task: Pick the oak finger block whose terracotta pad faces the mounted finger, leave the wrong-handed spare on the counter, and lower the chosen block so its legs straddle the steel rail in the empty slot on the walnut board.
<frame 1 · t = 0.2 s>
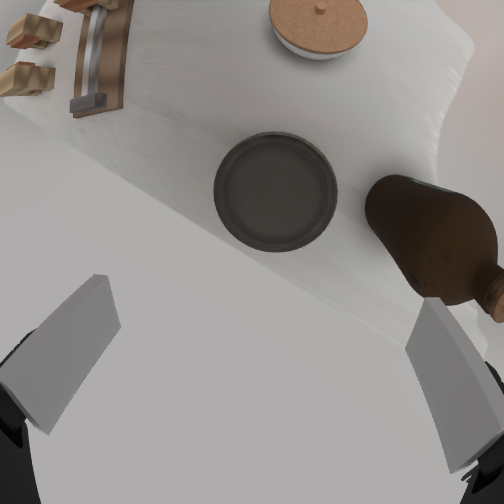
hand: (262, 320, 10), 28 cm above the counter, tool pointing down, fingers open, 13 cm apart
mounted finger: (110, 6, 25), resting on rail board
rail board: (105, 39, 28), on the counter
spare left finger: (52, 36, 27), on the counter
olive oil: (394, 206, 35), on the counter
coffee can: (277, 173, 35), on the counter
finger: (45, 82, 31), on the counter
lidded jar: (312, 35, 27), on the counter
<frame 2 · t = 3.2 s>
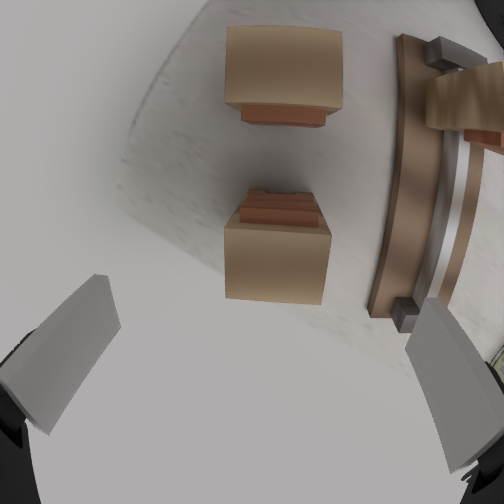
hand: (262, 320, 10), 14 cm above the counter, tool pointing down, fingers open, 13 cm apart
mounted finger: (441, 111, 17), resting on rail board
rail board: (435, 186, 20), on the counter
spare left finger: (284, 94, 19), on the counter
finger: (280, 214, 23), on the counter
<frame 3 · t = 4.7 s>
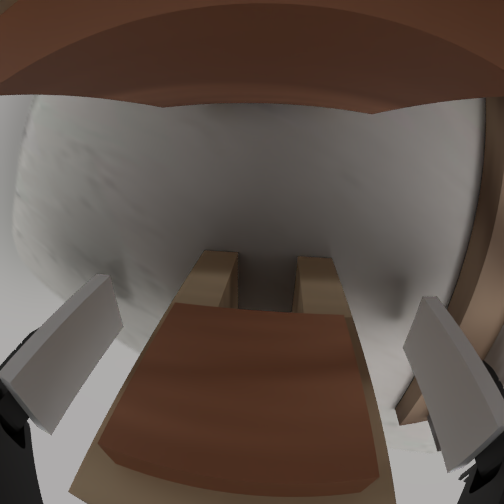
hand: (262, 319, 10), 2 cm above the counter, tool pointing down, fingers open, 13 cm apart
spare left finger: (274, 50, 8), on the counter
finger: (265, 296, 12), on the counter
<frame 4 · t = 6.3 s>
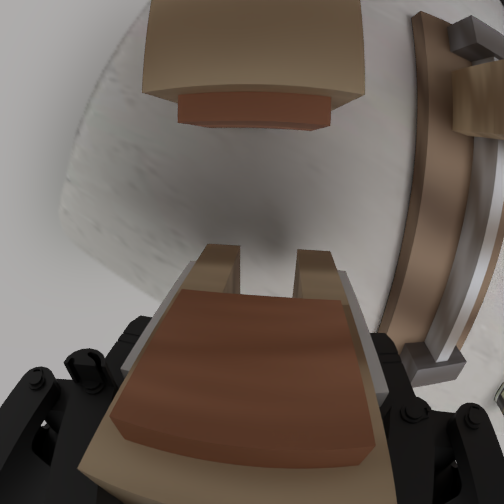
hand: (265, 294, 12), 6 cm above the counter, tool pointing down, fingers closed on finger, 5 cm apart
mounted finger: (468, 112, 12), resting on rail board
rail board: (459, 207, 15), on the counter
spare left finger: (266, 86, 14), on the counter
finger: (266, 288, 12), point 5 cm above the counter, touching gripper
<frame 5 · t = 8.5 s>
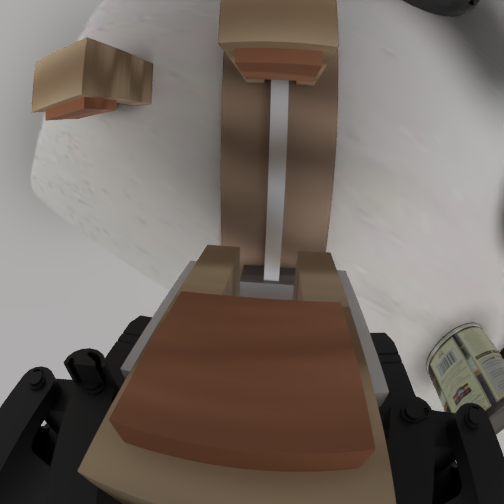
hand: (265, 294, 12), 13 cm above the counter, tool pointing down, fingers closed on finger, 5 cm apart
mounted finger: (280, 65, 19), resting on rail board
rail board: (278, 143, 22), on the counter
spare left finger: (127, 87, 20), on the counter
coffee can: (455, 350, 29), on the counter
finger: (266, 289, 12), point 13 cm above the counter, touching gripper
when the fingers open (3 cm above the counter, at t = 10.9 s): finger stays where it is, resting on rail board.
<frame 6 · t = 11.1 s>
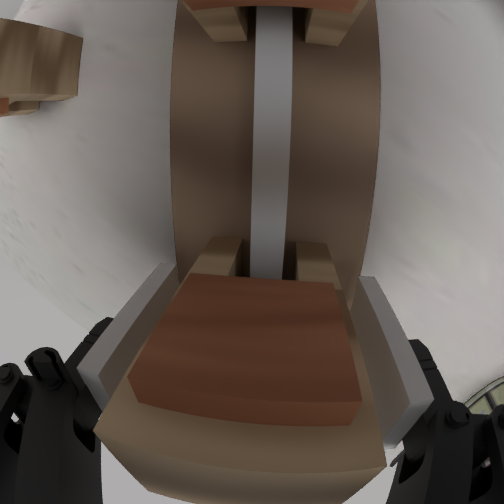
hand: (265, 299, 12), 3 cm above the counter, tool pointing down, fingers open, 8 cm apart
mounted finger: (277, 17, 9), resting on rail board
rail board: (274, 149, 12), on the counter
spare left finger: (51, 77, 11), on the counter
coffee can: (483, 403, 19), on the counter
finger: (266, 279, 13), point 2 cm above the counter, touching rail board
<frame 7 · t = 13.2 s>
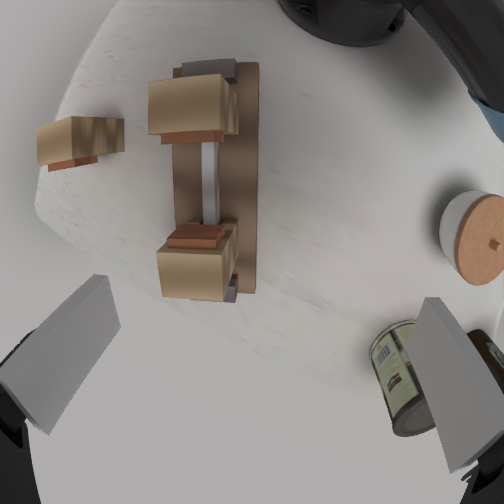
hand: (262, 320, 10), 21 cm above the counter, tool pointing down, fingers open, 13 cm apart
mounted finger: (216, 117, 27), resting on rail board
rail board: (216, 180, 30), on the counter
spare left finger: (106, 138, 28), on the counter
olive oil: (466, 348, 37), on the counter
coffee can: (399, 345, 37), on the counter
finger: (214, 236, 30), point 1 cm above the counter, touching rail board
lidded jar: (456, 222, 29), on the counter
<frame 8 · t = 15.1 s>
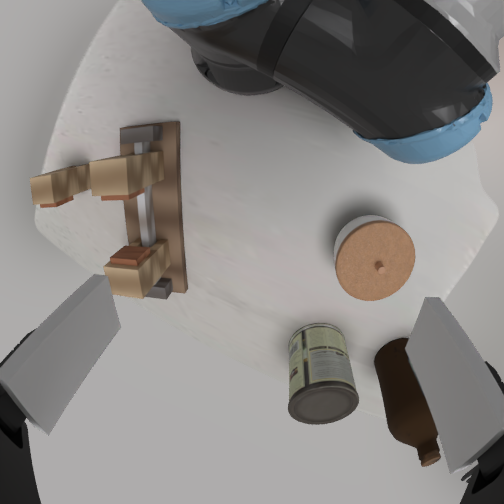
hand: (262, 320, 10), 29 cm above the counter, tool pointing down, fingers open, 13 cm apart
mounted finger: (151, 164, 37), resting on rail board
rail board: (154, 210, 40), on the counter
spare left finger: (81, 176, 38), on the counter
olive oil: (396, 354, 47), on the counter
coffee can: (317, 344, 47), on the counter
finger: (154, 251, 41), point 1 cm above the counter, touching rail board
lidded jar: (361, 240, 38), on the counter
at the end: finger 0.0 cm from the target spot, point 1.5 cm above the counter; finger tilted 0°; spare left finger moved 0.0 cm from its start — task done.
